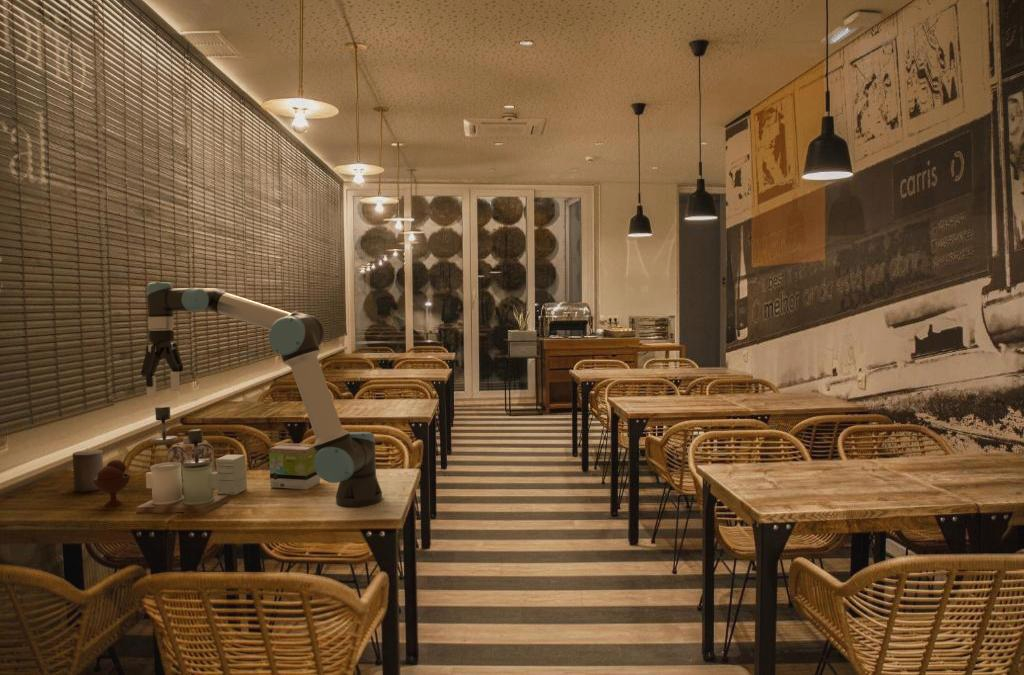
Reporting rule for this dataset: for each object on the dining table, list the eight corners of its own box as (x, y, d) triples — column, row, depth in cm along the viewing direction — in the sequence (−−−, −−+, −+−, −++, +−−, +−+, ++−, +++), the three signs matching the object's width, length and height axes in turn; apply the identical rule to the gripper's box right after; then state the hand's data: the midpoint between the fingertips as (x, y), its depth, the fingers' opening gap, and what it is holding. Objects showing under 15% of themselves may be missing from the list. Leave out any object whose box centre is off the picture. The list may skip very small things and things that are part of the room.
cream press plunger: (182, 438, 246) (180, 405, 245) (168, 443, 238) (166, 409, 237) (160, 438, 246) (158, 405, 246) (145, 443, 238) (143, 409, 238)
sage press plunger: (178, 466, 238) (176, 432, 237) (192, 461, 246) (190, 428, 245) (201, 466, 237) (200, 432, 236) (214, 461, 245) (212, 427, 244)
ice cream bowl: (106, 500, 253) (104, 457, 252) (138, 499, 252) (135, 456, 252) (88, 509, 242) (85, 464, 241) (121, 508, 242) (118, 464, 241)
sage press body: (177, 505, 238) (175, 468, 237) (193, 497, 247) (191, 462, 246) (210, 505, 236) (208, 468, 236) (225, 497, 246) (223, 462, 245)
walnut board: (228, 500, 248) (228, 495, 248) (206, 512, 234) (206, 507, 234) (162, 500, 251) (161, 495, 251) (136, 512, 237) (136, 507, 237)
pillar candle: (72, 493, 263) (70, 452, 262) (76, 487, 272) (74, 447, 271) (103, 490, 267) (101, 449, 266) (105, 484, 276) (103, 444, 275)
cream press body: (189, 497, 247) (187, 462, 247) (173, 505, 238) (171, 468, 237) (157, 496, 249) (155, 462, 248) (139, 505, 239) (137, 468, 238)
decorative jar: (194, 479, 279) (192, 433, 278) (216, 482, 274) (214, 435, 272) (167, 487, 268) (165, 439, 267) (190, 490, 263) (187, 441, 262)
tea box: (269, 488, 263) (267, 448, 262) (284, 481, 273) (282, 442, 272) (307, 490, 259) (305, 449, 258) (321, 482, 269) (319, 443, 268)
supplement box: (229, 488, 264) (227, 454, 263) (247, 489, 263) (245, 454, 262) (217, 494, 257) (215, 458, 256) (235, 494, 255) (234, 459, 255)
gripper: (171, 327, 252) (174, 388, 254) (126, 331, 228) (129, 399, 229) (192, 327, 252) (194, 388, 253) (149, 331, 227) (152, 399, 228)
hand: (164, 393), depth 241 cm, fingers open, 13 cm apart
